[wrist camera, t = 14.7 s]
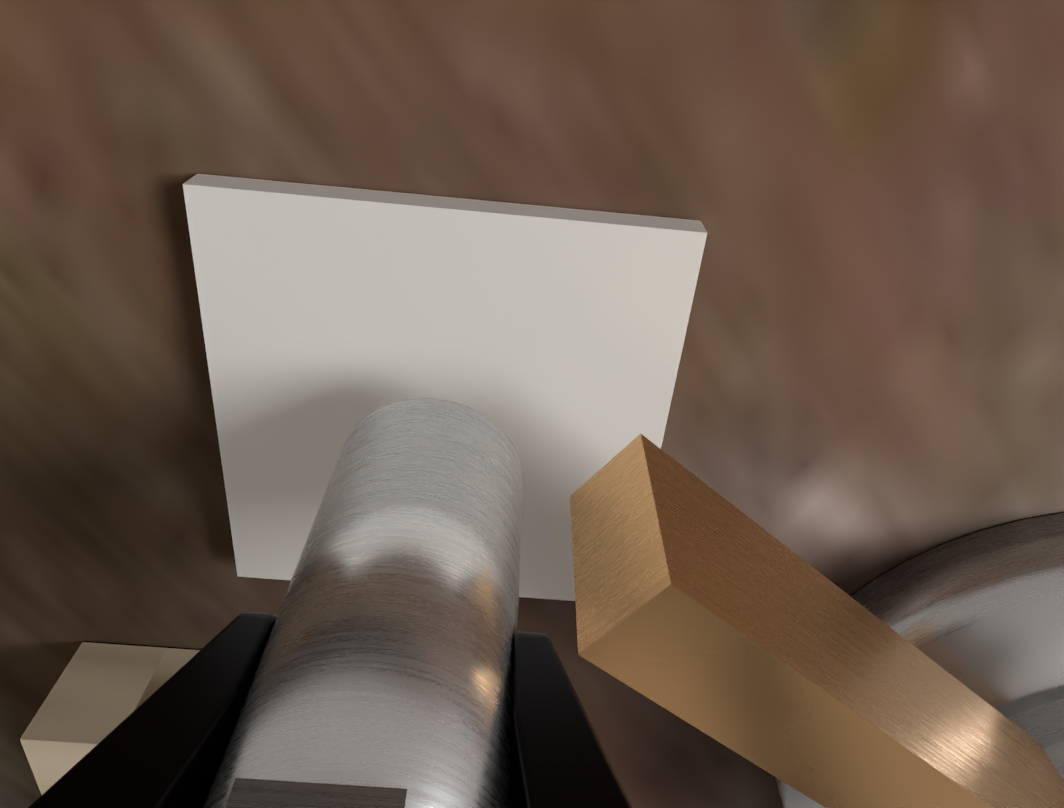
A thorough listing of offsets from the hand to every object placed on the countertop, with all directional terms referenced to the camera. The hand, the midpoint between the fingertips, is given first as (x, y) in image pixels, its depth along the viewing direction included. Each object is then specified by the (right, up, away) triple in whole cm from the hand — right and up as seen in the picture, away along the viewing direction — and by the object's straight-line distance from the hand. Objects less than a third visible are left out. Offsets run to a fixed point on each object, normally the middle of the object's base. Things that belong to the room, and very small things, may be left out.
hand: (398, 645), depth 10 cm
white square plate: (0, +3, +5) cm, 6 cm away
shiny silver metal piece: (0, +2, +3) cm, 4 cm away
